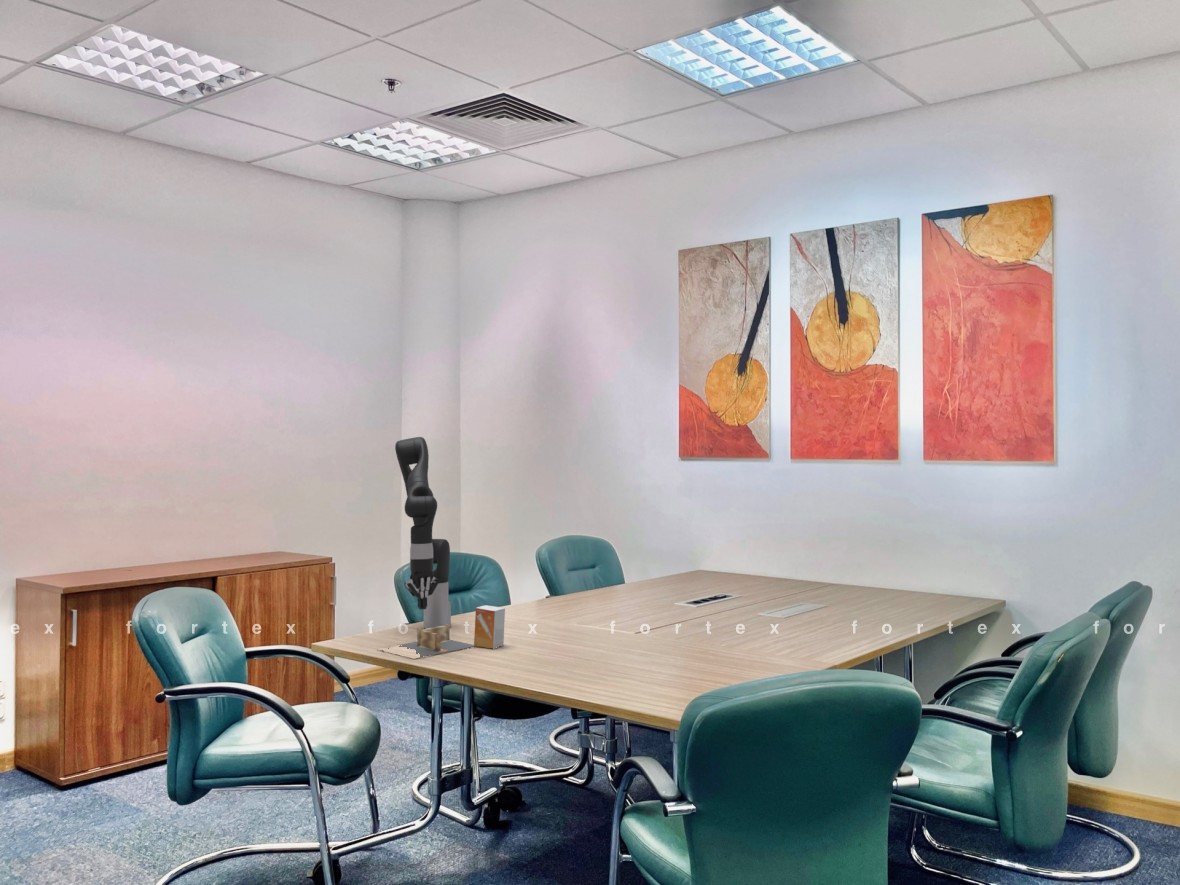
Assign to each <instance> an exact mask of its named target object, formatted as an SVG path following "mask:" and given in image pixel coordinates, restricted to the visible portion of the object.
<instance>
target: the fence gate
mask: <svg viewBox="0 0 1180 885" xmlns="http://www.w3.org/2000/svg"><path fill="white" fill-rule="evenodd" d="M420 631H421V646H425V647H428V648H431V649H435V650H441V635H440V633H437V634H436V633H433V632H429V631H425V630H420Z"/></svg>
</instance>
